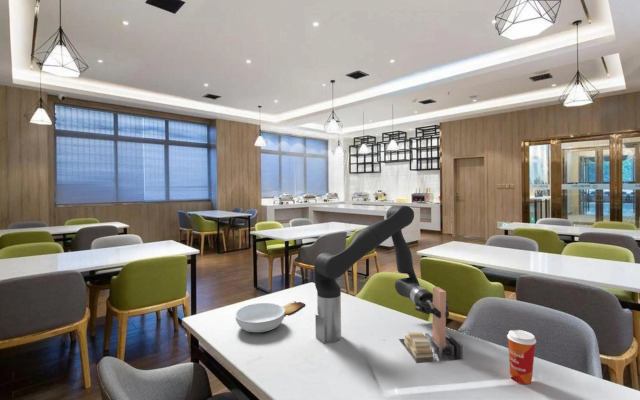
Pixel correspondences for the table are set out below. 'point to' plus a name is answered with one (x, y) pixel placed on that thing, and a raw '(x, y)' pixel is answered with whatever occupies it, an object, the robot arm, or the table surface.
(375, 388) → the table surface
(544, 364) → the table surface
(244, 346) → the table surface
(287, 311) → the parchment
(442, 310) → the pink rectangular bar
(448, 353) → the rack
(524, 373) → the paper cup
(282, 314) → the serving bowl
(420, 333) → the offcut stack
